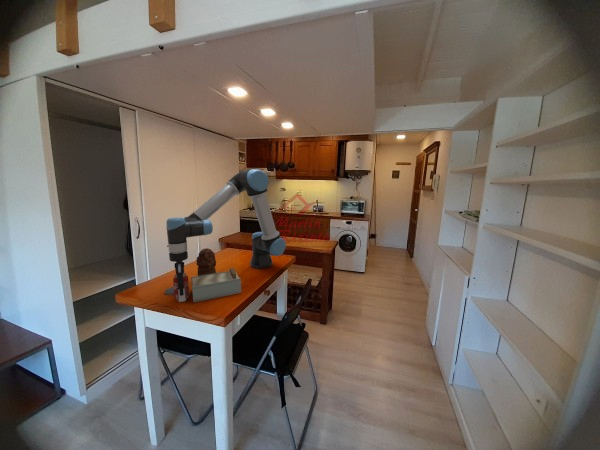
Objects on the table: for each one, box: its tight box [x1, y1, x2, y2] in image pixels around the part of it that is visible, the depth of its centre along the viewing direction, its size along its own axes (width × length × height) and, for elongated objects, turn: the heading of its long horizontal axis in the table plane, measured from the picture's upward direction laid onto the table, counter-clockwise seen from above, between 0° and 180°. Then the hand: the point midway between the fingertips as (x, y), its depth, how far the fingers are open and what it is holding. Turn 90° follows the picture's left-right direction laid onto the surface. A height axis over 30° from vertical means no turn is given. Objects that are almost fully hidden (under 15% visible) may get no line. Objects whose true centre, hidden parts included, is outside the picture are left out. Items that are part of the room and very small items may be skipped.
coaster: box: [164, 286, 174, 296], centre depth 114 cm, size 9×9×1 cm
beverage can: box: [172, 272, 190, 302], centre depth 105 cm, size 6×6×12 cm
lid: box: [191, 267, 240, 287], centre depth 112 cm, size 21×11×3 cm, turn 118°
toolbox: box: [190, 269, 242, 303], centre depth 113 cm, size 22×13×8 cm, turn 118°
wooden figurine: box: [195, 247, 217, 276], centre depth 128 cm, size 12×6×18 cm, turn 167°
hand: (182, 297), depth 106 cm, fingers closed on beverage can, 6 cm apart
